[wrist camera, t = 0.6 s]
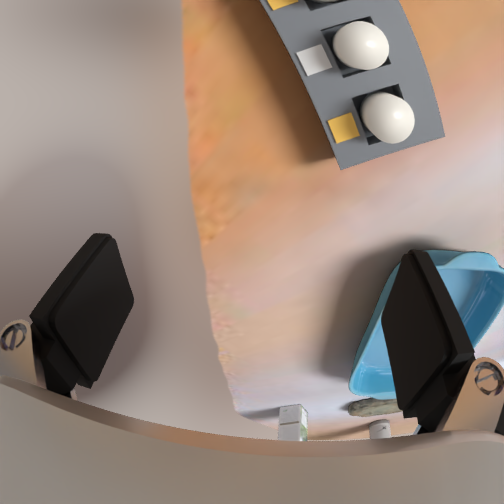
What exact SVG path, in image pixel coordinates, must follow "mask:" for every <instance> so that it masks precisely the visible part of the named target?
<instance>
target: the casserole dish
mask: <svg viewBox="0 0 504 504" xmlns="http://www.w3.org/2000/svg"><path fill="white" fill-rule="evenodd" d="M425 251H426V252H428V254H429V255H430V257H431V259H432V261H433V263H434V264H435V266H436V268H437V270H438V272H439V274H440V276H441V278H442V280H443V282H444V284H445V286H446V288H447V290H448V292H449V294H450V296H451V298H452V300H453V302H454V304H455V306H456V309H457V311H458V313H459V315H460V317H461V320H462V322H463V324H464V327H465V329H466V331H467V334H468V336H469V339H470V341H471V344H472V346H473V349H474V348H475V347H476V345H477V344H478V343H479V341H480V340H481V338H482V337H483V336H484V334H485V333H486V332H487V330H488V329H489V327H490V326H491V324H492V323H493V321H494V320H495V318H496V317H497V315H498V314H499V312H500V310H501V309H502V307H503V305H504V268H502V267H501V266H500V265H498V263H497V261H496V259H495V258H494V257H493V256H492V255H490V254H488V253H485V252H476V251H471V252H458V251H447V250H425ZM400 263H401V262H400ZM400 263H399V264H398V265H397V266H396V268H395V269H394V270H393V272H392V273H391V275H390V276H389V278H388V280H387V282H386V284H385V286H384V289H383V291H382V293H381V295H380V298H379V300H378V303H377V305H376V308H375V310H374V313H373V315H372V318H371V320H370V323H369V325H368V327H367V329H366V332H365V334H364V336H363V338H362V340H361V343H360V345H359V348H358V350H357V353H356V356H355V360H354V364H353V368H352V372H351V376H350V380H349V390H350V391H351V392H352V393H353V394H355V395H359V396H367V397H372V398H375V399H382V400H385V399H396V393H395V387H394V382H393V376H392V371H391V366H390V361H389V356H388V352H387V347H386V342H385V338H384V334H383V329H382V325H381V315H382V312H383V309H384V307H385V304H386V302H387V299H388V297H389V294H390V291H391V289H392V286H393V283H394V280H395V277H396V275H397V272H398V269H399V266H400Z"/></svg>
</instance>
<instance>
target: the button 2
mask: <svg viewBox="0 0 504 504" xmlns="http://www.w3.org/2000/svg"><path fill="white" fill-rule="evenodd" d="M360 117H361V120H362V122H363V124H364V125H365V126H366V127H367V128H368V129H369V130H370V131H371V132H372V133H373V134H374V135H375V136H376V137H377V138H378V139H379V140H381V141H383V142H386V143H391V144H394V143H399V142H402V141H404V140H405V139H406V138H407V137H409V135H410V134H411V132H412V130H413V128H414V123H415V119H414V113H413V111H412V109H411V107H410V106H409V104H408V103H407V102H406V101H404V100H403V99H401V98H399V97H397V96H394V95H392V94H389V93H387V92H383V91H376V92H372V93H370V94H369V95H367V96H366V97H365V98H364V99H363V101H362V103H361V106H360Z"/></svg>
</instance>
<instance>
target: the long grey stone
mask: <svg viewBox="0 0 504 504" xmlns="http://www.w3.org/2000/svg"><path fill="white" fill-rule="evenodd" d="M401 411H403V410H400V409H399V408H398V405H397V399H385V400H382V399H375V398H370V399H367V400H362V401H358V402H354V403H352V404H350V406H349V408H348V413H349V414H350V415H352V416H361V417H367V416H374V415H382V414H391V413H396V412H401Z"/></svg>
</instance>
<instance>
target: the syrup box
mask: <svg viewBox="0 0 504 504" xmlns="http://www.w3.org/2000/svg"><path fill="white" fill-rule="evenodd" d="M307 413H308V412H307V411H306V410H305V409H304V408H303V407H302V405H300V404H299V405H290V406H284V407H280V413H279V429H278V440H283V441H307Z"/></svg>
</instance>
